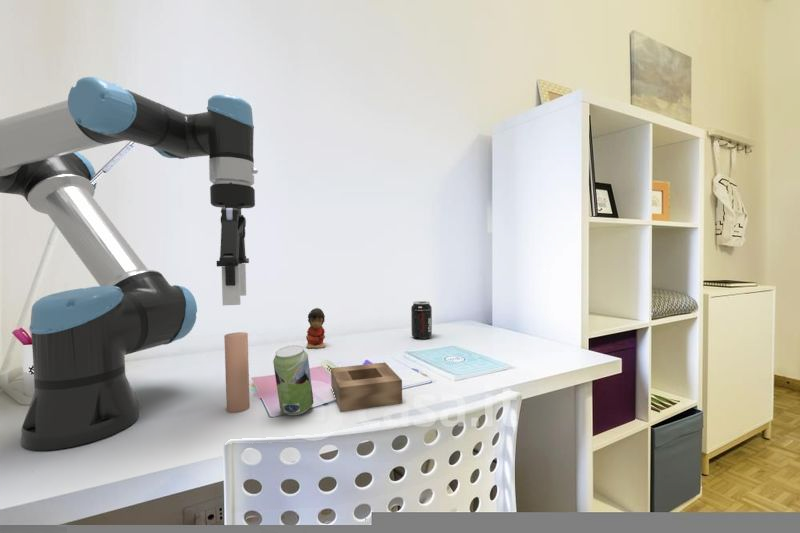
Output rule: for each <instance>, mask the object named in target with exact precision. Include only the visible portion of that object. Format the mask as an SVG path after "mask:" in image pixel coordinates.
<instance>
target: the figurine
mask: <svg viewBox="0 0 800 533" xmlns="http://www.w3.org/2000/svg"><path fill="white" fill-rule="evenodd" d="M325 318H326V317H325V314H324V311H323V310H322V309H321V308H318V307H316V308H313V309H311V310H310V311H309V313H308V314H307V321H308V323H309V325H310V326H309V327H308V329H307V331H306V333H307V335H306V336H305V339H306V341H307V344H306V345H305V348H307V349H324V348H326V345H325V343H324V340H325V338H326V335H325V332H326V331H325V328H324V326H323V325H324V323H325V321H326V319H325Z"/></svg>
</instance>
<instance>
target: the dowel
mask: <svg viewBox="0 0 800 533" xmlns="http://www.w3.org/2000/svg"><path fill="white" fill-rule="evenodd" d="M248 335H249V333H248V332H243V331H242V332H231V333H226V334H224V364H225V365H224V366H225V367H224V368H225V396H226V397H225V400H226V403H225V404H226V412H228V413H235V414H236V413H241V412H244V411H247V410H249V408H250V403H251V402H250V398H251V397H250V373H249V371H250V370H249V368H250V367H249V339H248V337H249V336H248Z"/></svg>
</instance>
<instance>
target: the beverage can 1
mask: <svg viewBox="0 0 800 533" xmlns="http://www.w3.org/2000/svg"><path fill="white" fill-rule="evenodd" d="M272 361H273V362H272V363H273V369H274V376H275V382H276V389H277V396H278V403H279V404H278V405H279V409H280V412H282V413H283V414H285V415H288V416H298V415H302V414H304V413H306V412H307V411H308V410H309V409H311V407H312V406H313V405H314V396H313V394H314V393H313V386H312V379H311V378H312V377H311V371H310V361H309V356H308V353H307V352H306V350H305V348H304V347H303V346H301V345H288V346H285V347H281V348H279V349H278V350H277V351H275V355H274V357H273V360H272Z"/></svg>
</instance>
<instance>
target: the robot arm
mask: <svg viewBox="0 0 800 533" xmlns="http://www.w3.org/2000/svg"><path fill="white" fill-rule="evenodd" d="M206 110H207V111H206V112H199V113H192V114H187V113H183V112H181V111H178V110H176V109H174V108H172V107H169V106H166V105H164V104H163V103H162V104H161V103H160V102H156V101H154V100H151V99H150V98H147V97H145V96H143V95H140V94H137V93H136V92H133V91H131V90H129V89H127V88H124V87H123V86H121V85H119V84H117V83H114V82H111V81H106V80H103V79H100V78H98V77H94V76H84V77H81V78H80V79H77V81H76V84H75V85H72V86H71V87H70V90H69V93H68V95H67V99H66V100H64V101H60V102H57V103H53V104H49V105H46V106H42V107H38V108H36V109H32V110H29V111H25V112H22V113H18V114H15V115H12V116H8V117H5V118H3V119H2V118H1V119H0V193H2V194H8V195H9V194H10V195H16V196H17V195H19V196H22V197H23V198H24V199H25V201H26V202H27V203H28V204H29V206H30V207H31V209H33V210H35V211H36V212H38V213H41V214H44V215H47V216H48V217H49V218H50V220H51V222H53V223H54V226H55V227H56V228H57V229H58V231H60V234H61V235H62V236H63V237H64V239H65V240H66V241H67V243H68V244H69V246H70V247H71V249H73V251H74V252H75V255H77V257H78V258H79V259H80V261H81V262H82V264H84V266H85V268H86V269H87V271H89V273H90V274H91V276H92V277H93V278H94V279H95V281H96V282H97V284H98V285H97V286H89V287H86V288H84V287H83V288H75V289H70V290H64V291H59V292H55V293H52V294H48V295H46V296H43V297H41V298H38V300H35V302H34V303H33V305H32V307H31V312H30V315H31V316H30V325H29V330H30V333H31V345H32V346H31V348H32V363H33V364H32V365H33V367H32V368H33V377H34V378H33V382H34V383H33V384H34V394H33V396H32V398H31V402H30V404H29V407H28V410H27V412H26V415H25V418H24V420H23V424H22V426H21V430H20V433H21V434H20V435H21V445H22V447H23V448H25V449H28V450H32V451H49V450H50V451H51V450H62V449H66V448H71V447H77V446H81V445H85V444H89V443H92V442H95V441H100V440H102V439H104V438H108V437H110V436H113V435H114V434H115V435H116V434H117V433H119V432H122V431H123V430H126V429H127V428H129V427H130V426H131V425H133V424H134V423H135V422H136V421H137V420H138V419H139V417H140V405H139V400H138V398H137V397H136V395H135V392H134V391H133V388H132V386H131V385H130V382H129V380H128V378H127V374H126V365H125V364H126V360H125V358H126V356H127V355H130V354H133V353H138V352H140V351H145V350H148V349H152V348H155V347H159V346H162V345H163V346H164V345H169V344H172V343H174V342H176V341H177V340H181V339H183V338H185V337H186V336H187V335H189V333H190V332H191V331H192V329H193V328H194V326H195V325H196V320H197V313H198V307H197V306H198V305H197V302H196V298H195V296H194V295H193V293H192V292H191V291H190V290H189V289H188V288H186V287H185V286H181V285H177V284H173V285H171V284H170V283H169V281H167V279H166V277H164V275H163V274H162V273H161V272H160V271H158V270H155V269H154V270H153V269H148V268H147V266H146V264H144V262H143V261H142V260H141V258H140V257H139V255H137V253H136V252H135V250H134V249H133V248H132V247H131V245H130V244H129V242H127V240H126V239H125V238H124V236H123V235H122V234H121V232H120V231H119V230H118V228H117V227H116V226H115V224H114V223H113V222H112V220H111V219H110V218H109V216H108V215H107V214H106V212H105V211H104V210H103V208H102V207H101V206H100V205H99V204H98V202H97V201H96V199H95V198H94V196H95V192H96V191H95V190H96V188H97V184H98V183H97V182H98V181H97V182H96V183H95V184H94V185H93V184H91V182H90V180H91V179H93V177H94V178H95V175H96V171H95V168H94V166H93V165H92V163H91V161H89V159H88V158H87V157H86V156H84V155H83V154H81V153H79V152H81V151H85V150H90V149H93V148H96V147H101V146H104V145H105V146H106V145H109V144H114V143H115V144H116V143H119V142H124V141H128V142H133V143H136V144H139V145H144V146H147V147H149V148H153V150H154V151H156V152H157V153H158V154H159V155H161V156H162V157H164V158H168V159H179V160H185V159H189V158H190V159H191V158H196V157H197V158H198V157H207V156H208V157H209V159H208V163H209V165H208V169H209V172H208V174H209V181H210V183H211V186H209V192H210V193H209V194H210V195H209V196H210V198H209V199H210V205H211V206H213V207H215V208H221V210H220V213H221V215H220V225H221V227H220V228H221V229H220V248H219V249H220V251H219V252H220V253H219V260H216V267H221V290H222V292H221V293H222V294H221V296H222V299H221V300H222V306H239V305H241V296H247V278H246V277H247V276H246V275H247V274H246V273H247V272H246V270H247V268H246V266H247V265H246V264H249V263H250V258H249V257H247V255H246V243H245V242H246V240H245V238H246V225H247V224H246V223H247V220H246V217H245V216H244V214H242V209H252V208H254V207H255V206H256V193H255V192H256V190H255V188H254V187H252V186H253V185H254V184H255V176H254V175H255V174H258V172H259V171H258V169H257V168H254V167H255V166H254V163H255V160H254V135H255V134H254V133H255V132H254V131H255V130H254V129H255V126H254V121H253V120H254V119H253V118H254V117H253V109H252V107H251V105H250V103H249V102H248V101H247V100H244V99H243V98H241V97H238V96H234V95H230V94H215V95H212V96H211V97H209V98H208V100H207V106H206Z"/></svg>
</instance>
